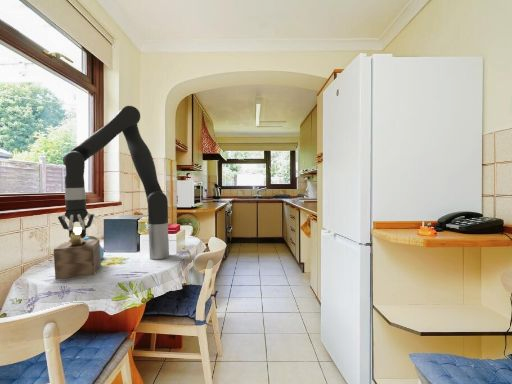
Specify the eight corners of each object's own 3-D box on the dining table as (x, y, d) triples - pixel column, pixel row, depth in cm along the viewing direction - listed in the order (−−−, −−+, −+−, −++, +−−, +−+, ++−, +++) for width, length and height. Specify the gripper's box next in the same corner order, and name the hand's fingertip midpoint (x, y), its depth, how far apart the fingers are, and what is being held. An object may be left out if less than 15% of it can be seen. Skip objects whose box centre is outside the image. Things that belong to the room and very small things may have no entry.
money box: (100, 264, 134) (99, 239, 133) (94, 274, 121) (92, 246, 120) (65, 268, 130) (64, 242, 129) (55, 278, 116) (53, 249, 116)
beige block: (84, 237, 129) (83, 227, 127) (81, 245, 122) (79, 234, 121) (75, 238, 128) (74, 227, 126) (71, 245, 121) (70, 235, 120)
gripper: (96, 197, 129) (97, 235, 130) (59, 198, 125) (61, 238, 126) (92, 198, 122) (94, 238, 123) (53, 199, 118) (55, 241, 119)
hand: (77, 237), depth 124 cm, fingers closed on beige block, 3 cm apart
